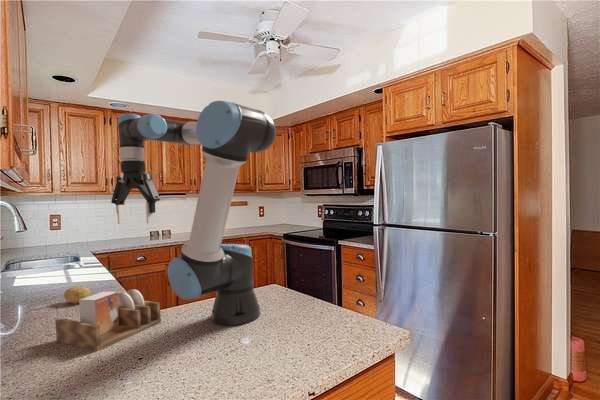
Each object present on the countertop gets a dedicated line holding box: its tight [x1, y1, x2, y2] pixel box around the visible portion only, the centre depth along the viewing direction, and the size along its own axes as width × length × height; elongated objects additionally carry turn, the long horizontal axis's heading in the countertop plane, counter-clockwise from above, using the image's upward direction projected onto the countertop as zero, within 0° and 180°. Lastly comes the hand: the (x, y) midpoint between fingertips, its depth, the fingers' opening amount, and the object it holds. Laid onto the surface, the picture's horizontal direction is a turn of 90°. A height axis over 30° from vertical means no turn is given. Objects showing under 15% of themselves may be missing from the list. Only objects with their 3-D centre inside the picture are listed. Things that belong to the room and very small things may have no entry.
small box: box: [78, 291, 119, 336], centre depth 93 cm, size 8×6×10 cm
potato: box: [63, 286, 91, 305], centre depth 127 cm, size 7×11×6 cm, turn 64°
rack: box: [55, 288, 162, 352], centre depth 96 cm, size 18×20×10 cm
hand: (136, 223), depth 111 cm, fingers open, 13 cm apart
